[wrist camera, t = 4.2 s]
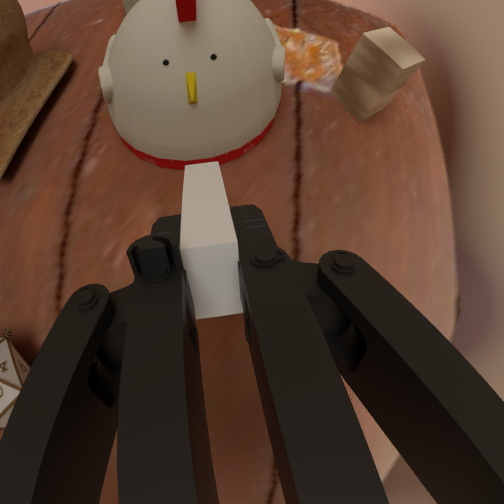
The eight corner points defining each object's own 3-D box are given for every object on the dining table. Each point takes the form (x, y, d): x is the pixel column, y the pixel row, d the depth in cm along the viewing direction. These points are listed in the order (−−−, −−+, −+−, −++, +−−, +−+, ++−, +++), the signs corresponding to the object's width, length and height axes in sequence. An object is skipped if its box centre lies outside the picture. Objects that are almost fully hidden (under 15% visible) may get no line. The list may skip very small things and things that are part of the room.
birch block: (329, 92, 23) (362, 33, 15) (355, 80, 24) (389, 27, 16) (359, 123, 23) (403, 69, 15) (383, 108, 24) (425, 59, 16)
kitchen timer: (111, 183, 20) (3, 45, 5) (122, 60, 22) (87, -61, 7) (291, 161, 22) (377, 3, 7) (262, 45, 23) (290, -81, 9)
